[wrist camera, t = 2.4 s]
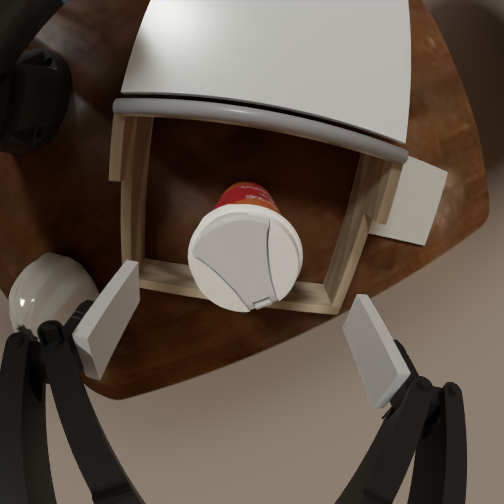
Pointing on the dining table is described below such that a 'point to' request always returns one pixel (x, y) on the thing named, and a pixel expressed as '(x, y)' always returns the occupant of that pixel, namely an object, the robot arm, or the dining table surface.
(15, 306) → the vase
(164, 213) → the dining table surface
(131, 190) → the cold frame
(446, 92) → the dining table surface
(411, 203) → the stone tile
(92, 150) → the dining table surface
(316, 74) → the lid
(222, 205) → the coffee cup
